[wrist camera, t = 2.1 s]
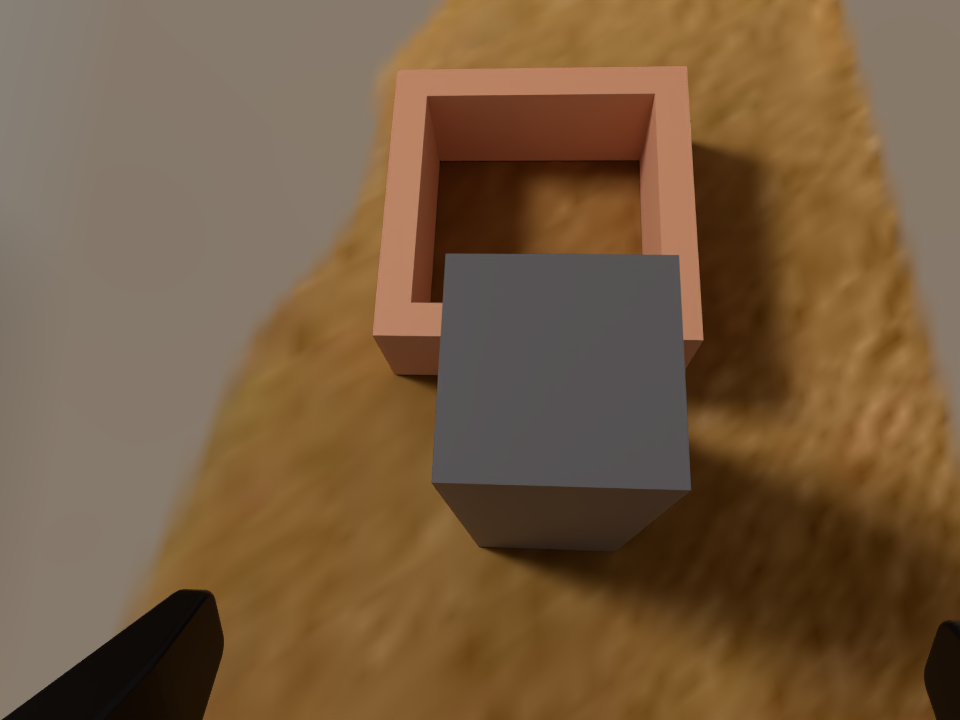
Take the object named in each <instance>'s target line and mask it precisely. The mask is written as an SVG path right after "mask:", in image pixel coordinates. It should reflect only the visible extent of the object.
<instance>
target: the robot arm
mask: <svg viewBox="0 0 960 720" xmlns="http://www.w3.org/2000/svg"><path fill="white" fill-rule="evenodd" d="M223 649H224V636H223V631H222V627H221V622H220V618H219V614H218V609H217V605H216V601H215V598H214V595H213V594H212V593H211V592H210V591H208V590H195V589H182V590H178V591H176V592H175V593H173V594H172V595H170V596H169V597H168V598H166V599H165V600H164V601H162V602H161V603H160V604H158V605H157V606H155V607H154V608H153V609H151V610H150V611H149V612H147V613H146V614H145V615H143V616H142V617H141V618H139V619H138V620H136V621H135V622H134V623H132V624H131V625H130V626H128V627H127V628H126V629H124V630H123V631H121V632H120V633H119V634H117V635H116V636H115V637H113V638H112V639H111V640H109V641H108V642H107V643H105V644H104V645H102V646H101V647H100V648H98V649H97V650H96V651H94V652H93V653H92V654H90V655H89V656H88V657H86V658H85V659H84V660H82V661H81V662H79V663H78V664H77V665H75V666H74V667H73V668H71V669H70V670H69V671H67V672H66V673H64V674H63V675H62V676H60V677H59V678H58V679H56V680H55V681H54V682H52V683H51V684H50V685H48V686H47V687H45V688H44V689H43V690H41V691H40V692H39V693H37V694H36V695H35V696H33V697H32V698H31V699H29V700H28V701H27V702H25V703H24V704H23V705H21V706H20V707H18V708H17V709H16V710H14V711H13V712H12V713H10V714H9V715H7V716H6V717H5V718H3V719H2V720H203V717H204V713H205V710H206V707H207V704H208V700H209V697H210V694H211V691H212V687H213V684H214V681H215V678H216V674H217V671H218V668H219V664H220V661H221V658H222V654H223ZM924 681H925V686H926V690H927V693H928V696H929V699H930V702H931V705H932V708H933V711H934V714H935V717H936V720H960V620H947V621H944V622H943V623H942V624H941V625H940V626H939V628H938V630H937V633H936V636H935V639H934V642H933V645H932V648H931V651H930V654H929V657H928V660H927V663H926V665H925V670H924Z"/></svg>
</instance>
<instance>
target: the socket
mask: <svg viewBox="0 0 960 720" xmlns="http://www.w3.org/2000/svg"><path fill="white" fill-rule="evenodd" d="M577 160H639V163H640V193H641V223H642V252H643V255H679V263H680V283H681V302H682V321H683V341H684V360H685V369H686V368H687V366H688V364H689V363H690V361H691V360H692V358H693V356H694V355H695V353H696V351H697V350H698V348H699V347H700V345H701V343H702V342H703V325H702V308H701V292H700V275H699V259H698V242H697V226H696V209H695V193H694V177H693V160H692V144H691V127H690V111H689V94H688V78H687V66H668V67H591V68H513V69H436V70H397V81H396V92H395V102H394V113H393V124H392V134H391V145H390V156H389V166H388V177H387V188H386V198H385V209H384V220H383V230H382V241H381V252H380V262H379V273H378V283H377V294H376V305H375V315H374V326H373V337H374V339H375V340H376V342H377V344H378V346H379V348H380V349H381V351H382V353H383V355H384V356H385V358H386V360H387V362H388V364H389V365H390V367H391V369H392V371H393V372H394V374H401V375H438V368H439V352H440V336H441V320H442V303H430V300H431V286H432V271H433V256H434V241H435V227H436V212H437V197H438V182H439V168H440V161H577Z"/></svg>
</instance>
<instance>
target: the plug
mask: <svg viewBox="0 0 960 720" xmlns="http://www.w3.org/2000/svg"><path fill="white" fill-rule="evenodd" d="M431 483H432V484H433V485H434V487H435V488H436V490H437V491H438V492H439V494H440V495H441V496H442V498H443V499H444V500H445V502H446V503H447V504H448V506H449V507H450V508H451V510H452V511H453V512H454V514H455V515H456V517H457V518H458V519H459V521H460V522H461V523H462V525H463V526H464V527H465V529H466V530H467V531H468V533H469V534H470V535H471V537H472V538H473V540H474V541H475V542H476V544H477V545H478V546H479V547H500V548H528V549H556V550H583V551H611V552H616V551H617V550H618V549H619V548H621V547H622V546H623V545H624V544H626V543H627V542H628V541H629V540H630V539H632V538H633V537H634V536H635V535H637V534H638V533H639V532H640V531H642V530H643V529H644V528H645V527H647V526H648V525H649V524H650V523H651V522H653V521H654V520H655V519H656V518H658V517H659V516H660V515H661V514H663V513H664V512H665V511H666V510H667V509H669V508H670V507H671V506H672V505H674V504H675V503H676V502H677V501H679V500H680V499H681V498H682V497H684V496H685V495H686V494H687V493H688V492H690V491H691V477H690V457H689V438H688V419H687V399H686V380H685V360H684V341H683V321H682V302H681V283H680V263H679V255H612V254H446V255H445V271H444V287H443V303H442V320H441V336H440V352H439V368H438V384H437V400H436V416H435V432H434V449H433V465H432V481H431Z"/></svg>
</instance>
